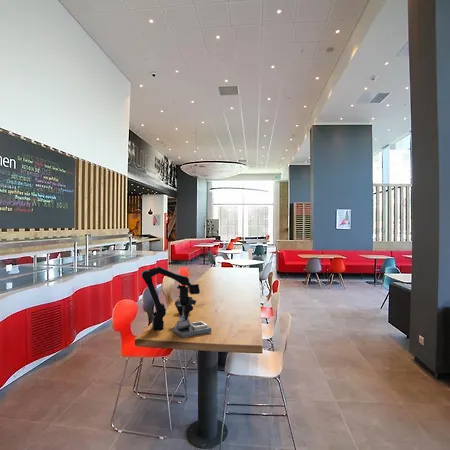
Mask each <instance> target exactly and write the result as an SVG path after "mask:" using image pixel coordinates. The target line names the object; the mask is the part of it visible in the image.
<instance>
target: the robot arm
mask: <svg viewBox="0 0 450 450" xmlns="http://www.w3.org/2000/svg"><path fill="white" fill-rule="evenodd" d="M159 274H160V275H162V276H165V277H167V278H170V279H173V280H174V281H176V282H178V283H179V284H178V285H177V286H176V289H177V290H179V296H178V299H179V298H180V300H179V301H177V300H175V302H174V306H175V308H176V310H177V312H178V315H179V317H180V316H181V315H184V318H185V320H187V318H188V317H189V315H190V313H191V312H192V311H194V306H196V302H197V300H195V299H194V298H193V297H192V296H189V294H190V295H200V291H201V290H200V285H199V283H193V284H192V283H191V282H190V279H189V278H188V277H187V276H186V275H182V274H179V273H175V272H172V271H170V270H168V269H165V268H162V267H161V266H156V267H153V268H150V269H144V270H142V272H141V277H142V279H143V281H144V283H145V284H146V285H147V289H148V291H149V294H150V297H151V298H152V301H153V304H154V309H155V311H154V313H152V321H151V324H152V325H151V329H152V330H153V331H159V330H164V326H165V324H164V323H165V322H164V317H165V316H166V315H167V312H166V311H167V309H166V307H165V304H164V303H163V302H162V303H161V300H160V298H159V296H158V294H157V291H156V288H155V286H154V284H153V283H154V282H153V277H155V276H157V275H159ZM180 284H181V285H180ZM189 304H192V305H189ZM182 312H183V313H182Z"/></svg>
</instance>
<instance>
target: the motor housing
mask: <svg viewBox="0 0 450 450" xmlns="http://www.w3.org/2000/svg"><path fill="white" fill-rule="evenodd" d="M172 328H173V329H172V332H173V333H174V334H176V335H177V336H178V337H179V338H180V339H184V338H189V337H195V336H199V335H201V336H202V335H205V334H206V335H207V334H211V333H212V327H211V326H209V325H208V324H207V323H205V322H203V321H202V320H201V321H194V322H193V321H192V322H191V321H190V319H189V320H183V321H179V320H177V321H176V323H175V325H174V326H172Z"/></svg>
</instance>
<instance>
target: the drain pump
mask: <svg viewBox="0 0 450 450" xmlns="http://www.w3.org/2000/svg"><path fill="white" fill-rule="evenodd" d="M183 320H185V318H184V314H182V315H181V316H180V315H179V316H178V321H183ZM187 320H189V321H190V319H189V316H188V318H187Z"/></svg>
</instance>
